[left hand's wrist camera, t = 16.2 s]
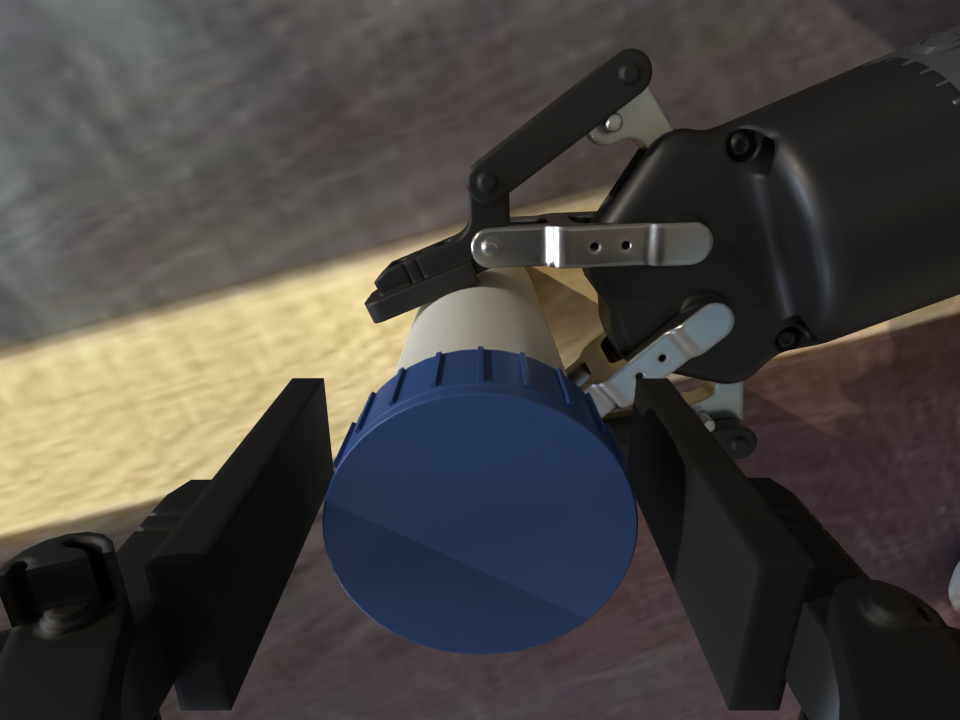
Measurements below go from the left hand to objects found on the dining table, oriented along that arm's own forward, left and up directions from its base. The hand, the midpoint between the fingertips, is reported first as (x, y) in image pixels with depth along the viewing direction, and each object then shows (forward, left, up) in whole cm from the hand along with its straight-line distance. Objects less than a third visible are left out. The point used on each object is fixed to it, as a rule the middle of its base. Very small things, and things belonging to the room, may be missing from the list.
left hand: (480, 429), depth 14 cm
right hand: (-2, +2, -6) cm, 6 cm away
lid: (0, 0, +4) cm, 4 cm away
